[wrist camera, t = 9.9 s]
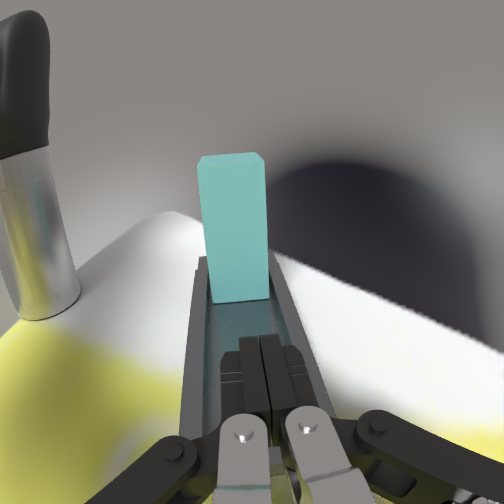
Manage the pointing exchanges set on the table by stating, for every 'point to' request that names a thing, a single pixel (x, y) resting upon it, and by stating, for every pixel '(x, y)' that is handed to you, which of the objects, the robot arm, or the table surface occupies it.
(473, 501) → the robot arm
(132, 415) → the table surface
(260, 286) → the teal block
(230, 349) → the charcoal chute
